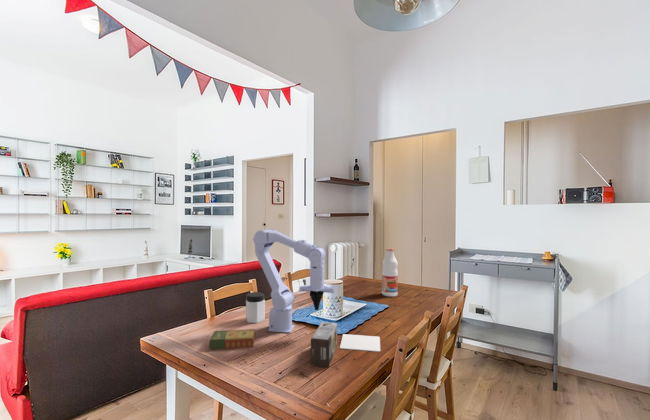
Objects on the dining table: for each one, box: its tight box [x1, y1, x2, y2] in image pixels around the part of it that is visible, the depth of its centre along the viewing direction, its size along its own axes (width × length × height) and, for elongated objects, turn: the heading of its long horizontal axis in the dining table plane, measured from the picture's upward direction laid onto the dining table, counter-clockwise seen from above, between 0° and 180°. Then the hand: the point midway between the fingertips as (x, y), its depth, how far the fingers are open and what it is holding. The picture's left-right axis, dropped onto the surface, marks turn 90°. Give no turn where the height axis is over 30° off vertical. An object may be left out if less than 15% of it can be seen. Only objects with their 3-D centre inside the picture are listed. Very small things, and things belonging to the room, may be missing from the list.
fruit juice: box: [381, 247, 399, 297], centre depth 191 cm, size 9×9×28 cm
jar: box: [245, 291, 266, 324], centre depth 146 cm, size 9×8×12 cm
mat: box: [339, 333, 381, 353], centre depth 123 cm, size 15×13×1 cm
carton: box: [208, 328, 256, 350], centre depth 121 cm, size 8×16×4 cm, turn 97°
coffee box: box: [310, 321, 338, 368], centre depth 112 cm, size 9×6×16 cm
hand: (316, 309), depth 131 cm, fingers closed
